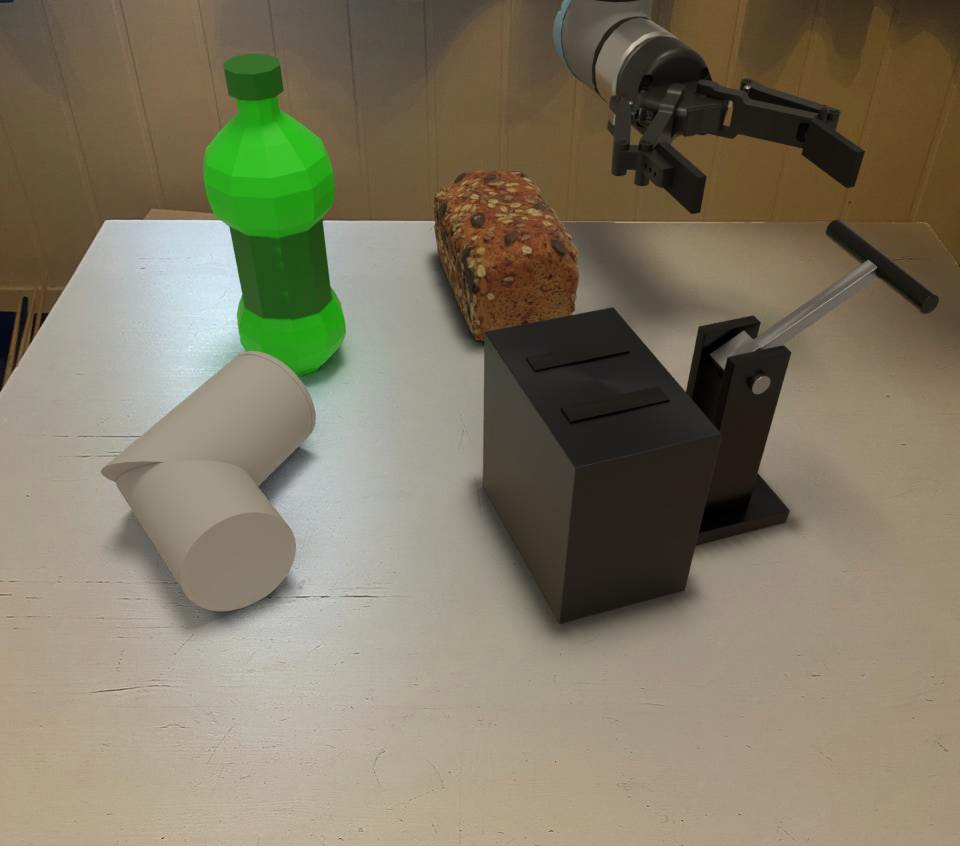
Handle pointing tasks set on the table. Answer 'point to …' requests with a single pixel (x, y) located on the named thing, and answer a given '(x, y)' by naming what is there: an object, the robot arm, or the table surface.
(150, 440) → the elbow connector
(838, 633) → the table surface
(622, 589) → the toaster
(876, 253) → the lever
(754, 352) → the lever bracket
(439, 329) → the table surface
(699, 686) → the table surface
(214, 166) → the plastic bottle
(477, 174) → the bread
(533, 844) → the table surface
